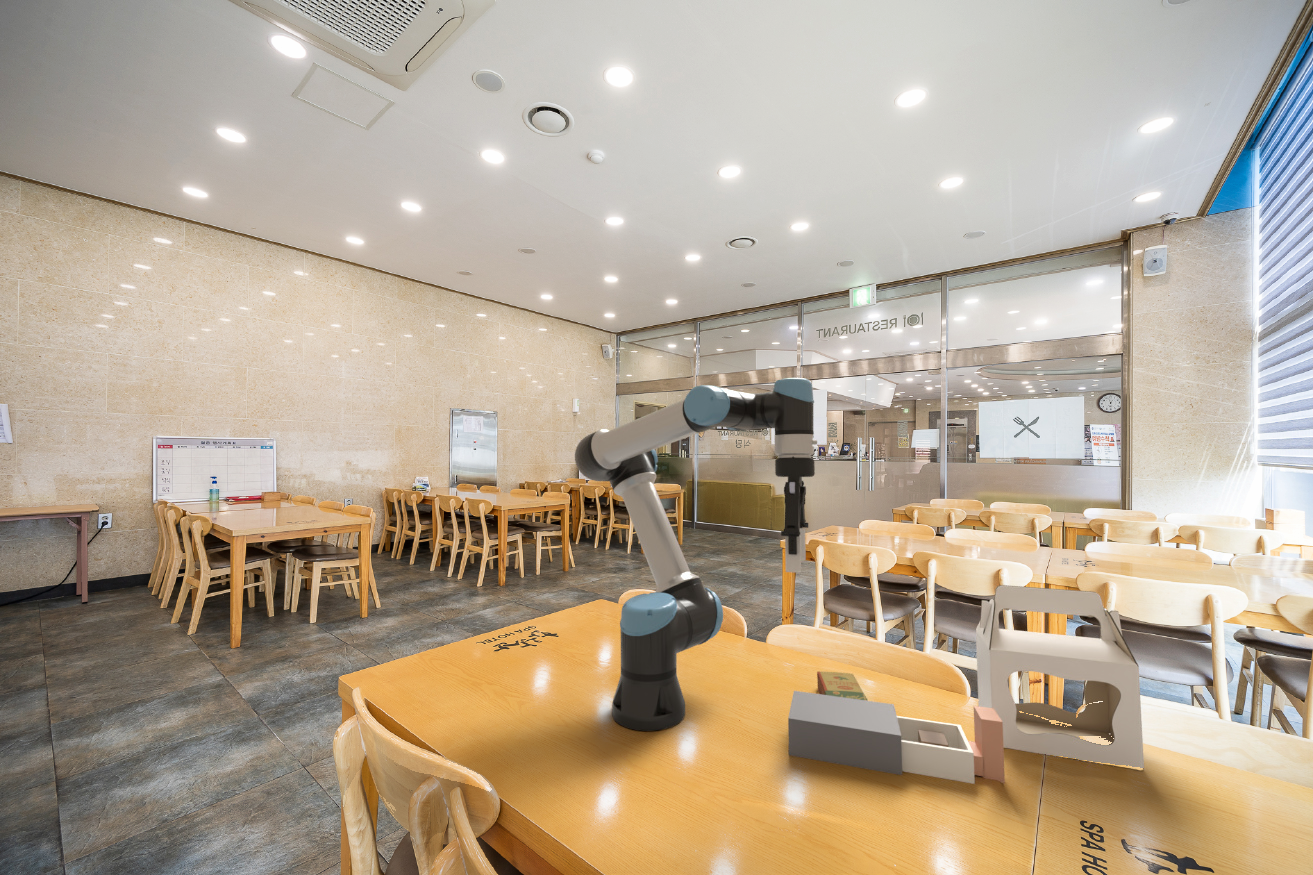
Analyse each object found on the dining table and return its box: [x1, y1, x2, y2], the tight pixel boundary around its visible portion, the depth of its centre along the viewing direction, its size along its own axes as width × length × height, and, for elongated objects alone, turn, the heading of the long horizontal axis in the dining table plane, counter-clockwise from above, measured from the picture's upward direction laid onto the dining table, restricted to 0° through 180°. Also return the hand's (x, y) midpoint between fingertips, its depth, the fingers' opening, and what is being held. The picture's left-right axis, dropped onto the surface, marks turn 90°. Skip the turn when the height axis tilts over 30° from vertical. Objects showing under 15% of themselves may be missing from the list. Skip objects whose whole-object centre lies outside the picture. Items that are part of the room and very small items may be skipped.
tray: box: [897, 705, 1006, 785], centre depth 89 cm, size 21×10×10 cm, turn 71°
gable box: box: [975, 584, 1145, 769], centre depth 98 cm, size 22×13×28 cm, turn 68°
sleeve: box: [787, 690, 903, 776], centre depth 94 cm, size 18×12×7 cm, turn 71°
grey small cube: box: [918, 730, 948, 747], centre depth 89 cm, size 4×4×4 cm
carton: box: [816, 671, 869, 701], centre depth 112 cm, size 8×16×4 cm, turn 171°
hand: (796, 565), depth 102 cm, fingers open, 13 cm apart
